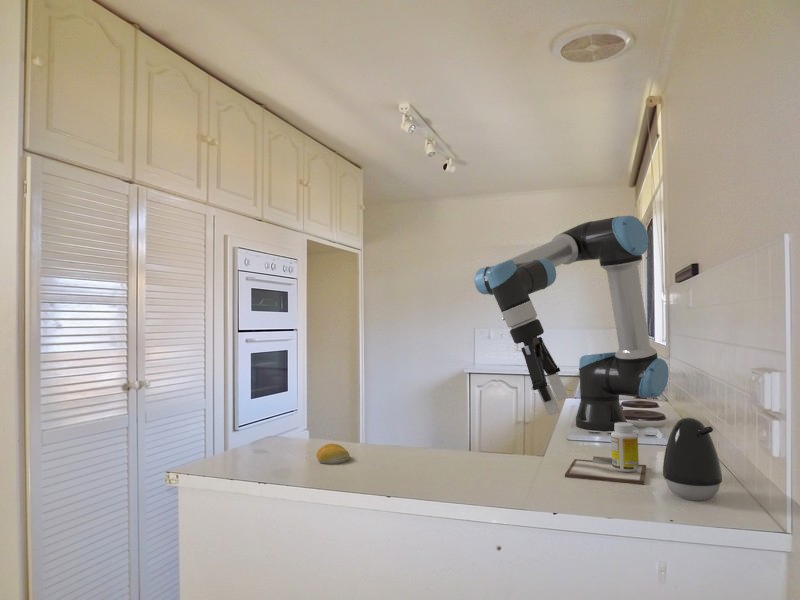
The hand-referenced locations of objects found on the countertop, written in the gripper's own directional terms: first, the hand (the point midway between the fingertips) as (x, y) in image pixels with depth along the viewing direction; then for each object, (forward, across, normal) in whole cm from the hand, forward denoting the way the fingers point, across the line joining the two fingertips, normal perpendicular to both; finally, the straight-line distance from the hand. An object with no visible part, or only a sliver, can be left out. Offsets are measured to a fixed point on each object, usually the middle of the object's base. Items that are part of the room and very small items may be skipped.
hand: (559, 406), depth 134 cm
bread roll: (-7, +13, -57) cm, 59 cm away
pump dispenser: (+21, +16, +21) cm, 34 cm away
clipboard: (+16, +3, +5) cm, 17 cm away
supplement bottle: (+18, +2, +9) cm, 20 cm away
